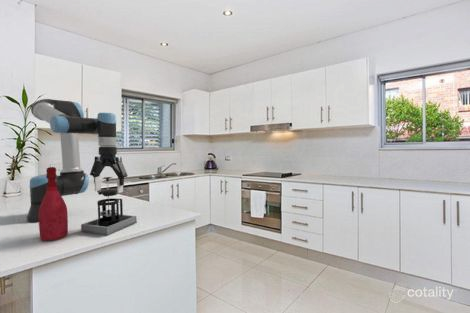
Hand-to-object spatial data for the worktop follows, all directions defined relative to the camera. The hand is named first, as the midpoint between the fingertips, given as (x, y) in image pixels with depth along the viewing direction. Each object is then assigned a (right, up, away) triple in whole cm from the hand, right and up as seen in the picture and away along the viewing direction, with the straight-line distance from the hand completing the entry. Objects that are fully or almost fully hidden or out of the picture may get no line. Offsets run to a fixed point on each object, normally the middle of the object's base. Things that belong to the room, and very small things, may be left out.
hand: (108, 191), depth 116 cm
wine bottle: (-17, -18, -11) cm, 27 cm away
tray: (0, -17, +1) cm, 17 cm away
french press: (0, -16, +1) cm, 16 cm away
